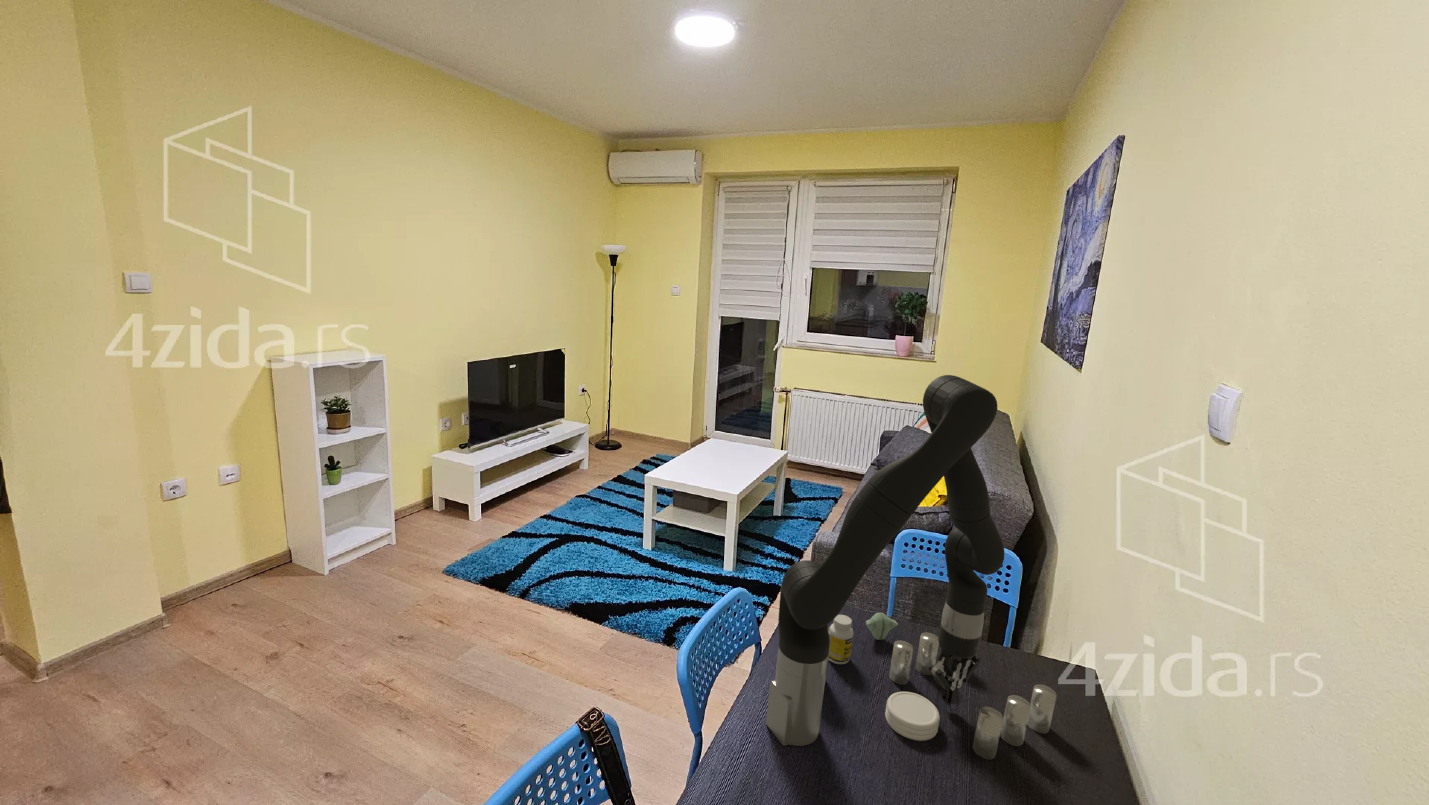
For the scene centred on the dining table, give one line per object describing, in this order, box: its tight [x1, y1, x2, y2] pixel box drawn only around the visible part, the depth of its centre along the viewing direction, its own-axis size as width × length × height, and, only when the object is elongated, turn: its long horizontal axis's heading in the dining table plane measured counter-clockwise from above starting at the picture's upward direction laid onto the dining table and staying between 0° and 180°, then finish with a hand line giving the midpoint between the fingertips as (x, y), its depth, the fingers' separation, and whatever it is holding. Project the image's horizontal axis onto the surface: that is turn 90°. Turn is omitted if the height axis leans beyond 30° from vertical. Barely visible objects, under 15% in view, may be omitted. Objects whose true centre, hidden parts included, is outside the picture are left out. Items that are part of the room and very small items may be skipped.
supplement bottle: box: [828, 614, 854, 665], centre depth 135 cm, size 5×5×10 cm
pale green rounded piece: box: [865, 612, 899, 641], centre depth 144 cm, size 8×4×7 cm, turn 98°
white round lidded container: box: [884, 691, 941, 742], centre depth 118 cm, size 10×10×4 cm
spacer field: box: [888, 631, 1058, 761], centre depth 124 cm, size 20×26×8 cm
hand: (948, 701), depth 122 cm, fingers closed
